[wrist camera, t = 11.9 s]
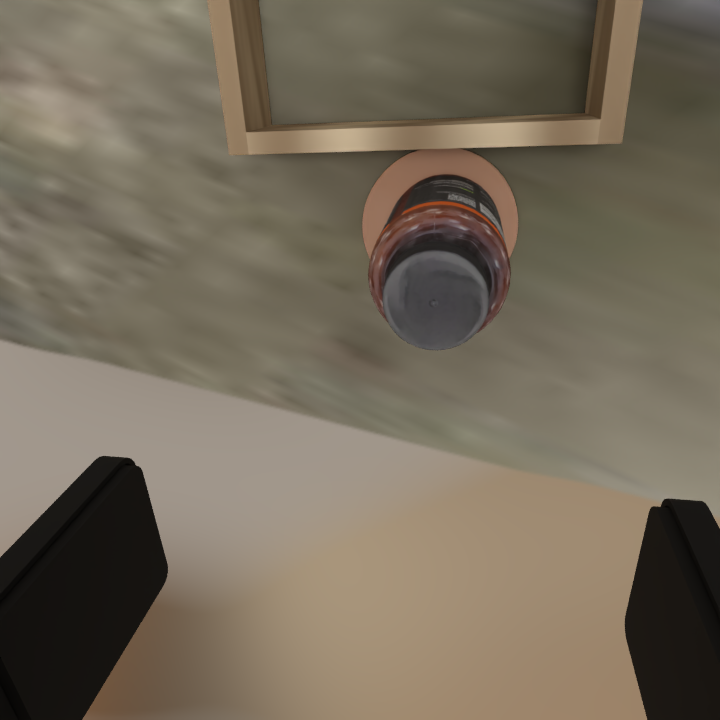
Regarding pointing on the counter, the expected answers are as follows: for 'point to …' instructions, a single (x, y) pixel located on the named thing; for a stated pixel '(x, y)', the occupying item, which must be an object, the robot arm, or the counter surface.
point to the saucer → (431, 164)
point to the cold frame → (258, 136)
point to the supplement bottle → (440, 263)
